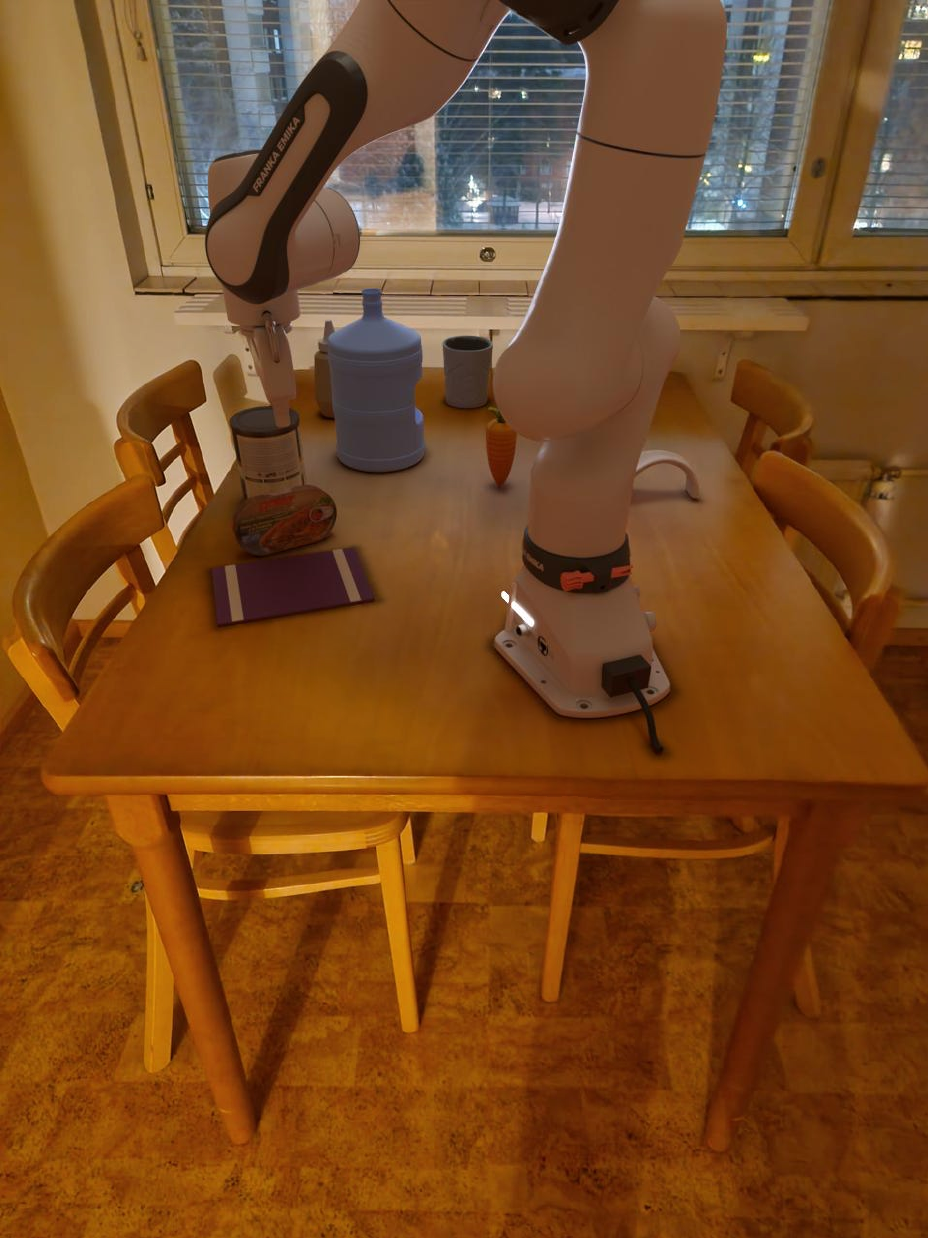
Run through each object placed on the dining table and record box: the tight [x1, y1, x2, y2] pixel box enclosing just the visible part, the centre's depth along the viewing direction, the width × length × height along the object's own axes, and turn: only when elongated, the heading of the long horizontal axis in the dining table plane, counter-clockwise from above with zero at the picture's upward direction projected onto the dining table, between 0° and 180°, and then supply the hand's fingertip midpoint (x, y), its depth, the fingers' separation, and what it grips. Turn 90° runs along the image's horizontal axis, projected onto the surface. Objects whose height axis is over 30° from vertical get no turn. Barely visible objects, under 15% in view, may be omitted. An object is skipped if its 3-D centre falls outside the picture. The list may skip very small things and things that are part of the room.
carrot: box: [485, 406, 518, 488], centre depth 130 cm, size 5×5×15 cm
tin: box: [231, 484, 338, 556], centre depth 116 cm, size 15×3×8 cm, turn 119°
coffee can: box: [228, 405, 308, 501], centre depth 125 cm, size 10×10×14 cm
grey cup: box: [441, 335, 494, 409], centre depth 164 cm, size 10×10×12 cm
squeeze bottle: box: [313, 319, 336, 419], centre depth 156 cm, size 8×8×18 cm
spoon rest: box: [634, 449, 700, 499], centre depth 129 cm, size 24×12×7 cm, turn 93°
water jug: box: [328, 288, 426, 473], centre depth 136 cm, size 16×16×28 cm
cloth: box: [211, 546, 376, 628], centre depth 109 cm, size 14×20×1 cm
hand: (278, 412), depth 106 cm, fingers open, 8 cm apart
